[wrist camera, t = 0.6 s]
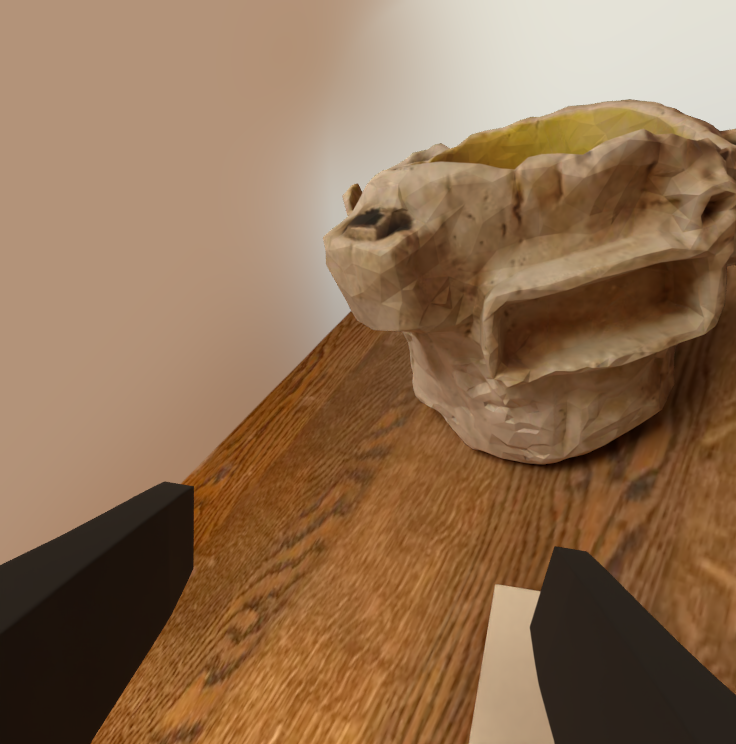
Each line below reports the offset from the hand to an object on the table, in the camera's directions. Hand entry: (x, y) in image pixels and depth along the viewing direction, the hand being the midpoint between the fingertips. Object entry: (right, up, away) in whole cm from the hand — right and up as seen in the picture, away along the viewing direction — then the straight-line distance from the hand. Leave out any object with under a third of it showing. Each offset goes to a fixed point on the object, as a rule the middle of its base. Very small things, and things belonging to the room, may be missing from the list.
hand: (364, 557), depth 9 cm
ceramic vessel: (+16, +2, +26) cm, 31 cm away
